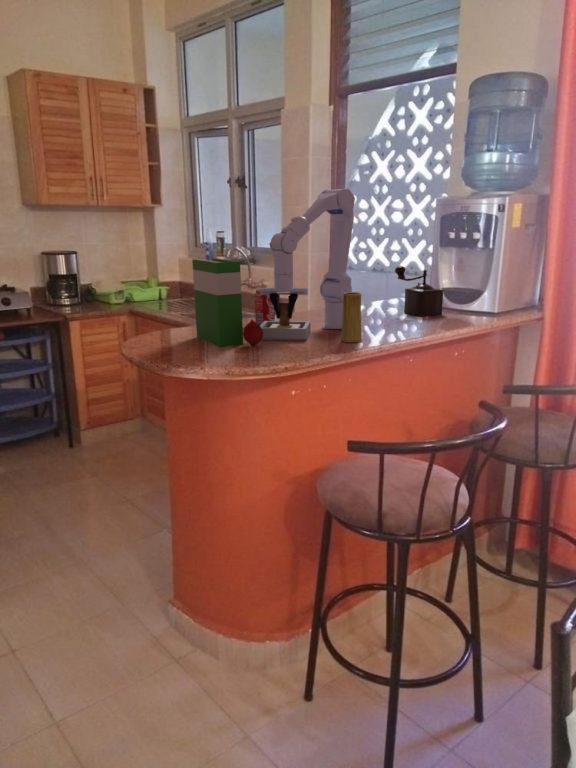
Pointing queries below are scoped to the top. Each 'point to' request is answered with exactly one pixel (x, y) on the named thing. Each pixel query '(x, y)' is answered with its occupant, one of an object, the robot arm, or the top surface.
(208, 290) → the green cereal box
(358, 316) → the vase
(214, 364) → the top surface
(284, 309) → the peg
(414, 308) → the manual coffee grinder
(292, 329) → the box
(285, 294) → the robot arm
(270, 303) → the soda can
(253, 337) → the onion
